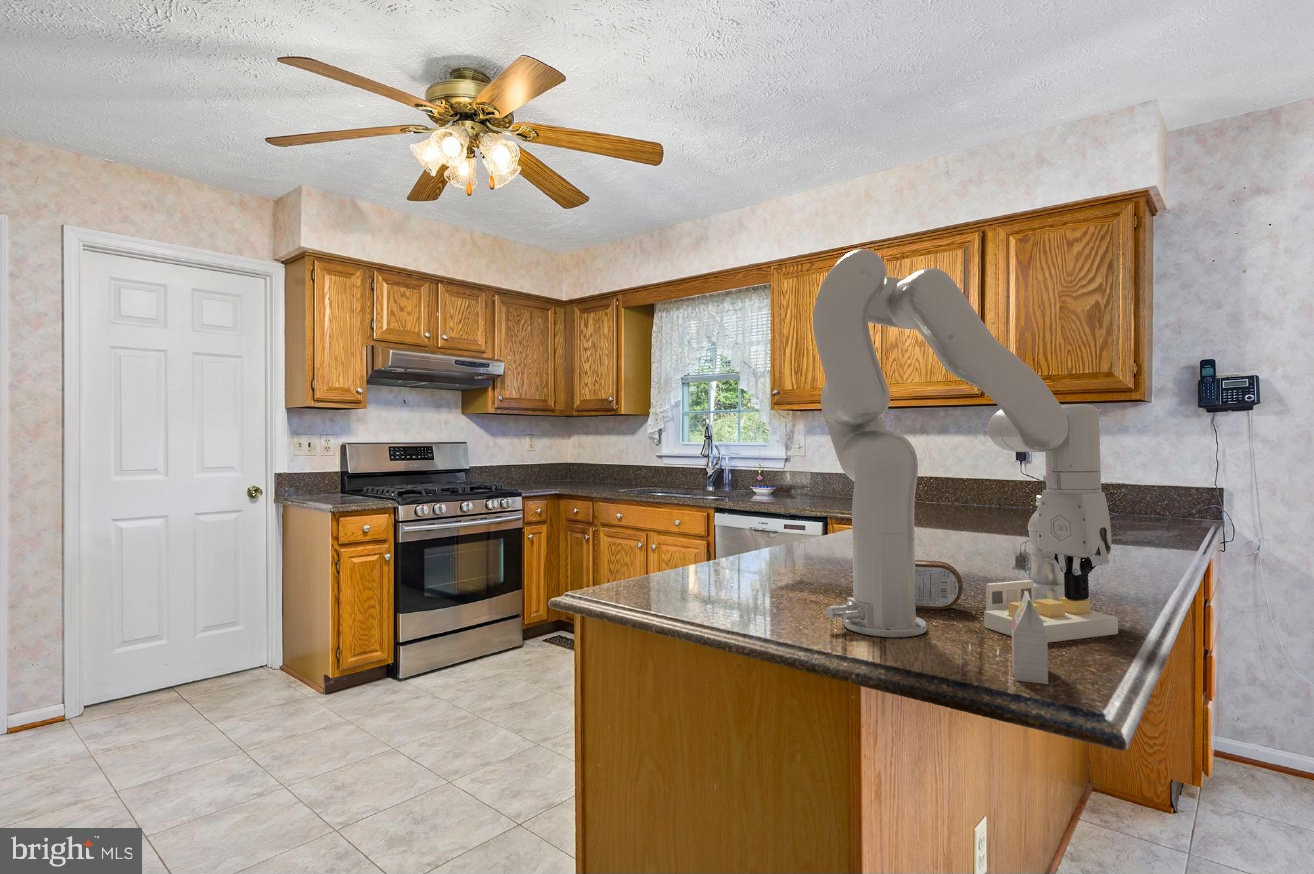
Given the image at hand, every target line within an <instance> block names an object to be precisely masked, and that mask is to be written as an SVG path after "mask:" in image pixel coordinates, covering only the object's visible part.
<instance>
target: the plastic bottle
mask: <svg viewBox="0 0 1314 874" xmlns="http://www.w3.org/2000/svg"><path fill="white" fill-rule="evenodd" d="M1041 495H1042V494H1036V496H1035V500H1036V501H1035V506H1036V507H1037V509H1036V510H1035V511H1034V513H1033V514H1032V515H1031V517H1030V518H1029V520H1028V523H1027V530H1028V536H1029V542H1030V550H1031V551H1030V553H1031V570H1030V571H1031V572H1030V580H1031V581H1033V604H1034V600H1042V599H1052V600H1056V601H1059V598H1062V597H1065V593H1064V573H1062V572H1061V571H1060V567H1059V564H1058V563H1057V562H1056V560H1055V559H1052V558H1050V557H1048V556H1046V555H1045V551H1044V550H1042V549H1041V548H1040V547H1039V545H1038V516H1039V506H1040V500H1041Z"/></svg>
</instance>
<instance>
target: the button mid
mask: <svg viewBox="0 0 1314 874" xmlns="http://www.w3.org/2000/svg"><path fill="white" fill-rule="evenodd" d="M1034 604H1036V605H1039V615H1041V616H1045V617H1048V618H1055V617H1064V616H1065V603H1064V602H1060V601H1056V600H1052V599H1042V600H1034Z"/></svg>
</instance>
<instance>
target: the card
mask: <svg viewBox="0 0 1314 874" xmlns="http://www.w3.org/2000/svg"><path fill="white" fill-rule="evenodd" d="M1024 591H1026V592H1027V591H1028V594H1029V597H1030V599H1031V602H1032V604H1033V581H1031V579H1026V580H1025V579H1024V580H1015V581H1004V582H1003V581H1002V582H1001V581H1000V582H989V583H985V611H993V610H1002V609H1008V603H1011V602H1021V601H1022V598H1023V595H1024Z"/></svg>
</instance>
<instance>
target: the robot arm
mask: <svg viewBox="0 0 1314 874" xmlns="http://www.w3.org/2000/svg"><path fill="white" fill-rule="evenodd" d="M887 275H888V274H887V268H886V264H885V262H884V260H883V258H882V257H881V256H880V255H879V254H878V253H877V252H875V251H873V250H871V249H867V248H865V249H864V248H862V249H861V248H860V249H856V250H853V251H850V252H848V253H846V254H845V255H844V256H842V257H841V258H840V259H838V261H837V262H836V263H835V264H834V266H833V267H832V268H831V269H830V270H829V272H828V273H827V275H826V276H825V277H824V279H823V282H822V283H821V285H820V287H819V290H818V293H817V296H816V300H815V302H814V308H813V314H812V327H813V329H812V330H813V339H814V341H815V346H816V349H817V353H818V356H819V359H820V364H821V366H822V370H823V373H824V376H825V380H826V381H825V383H824V385H823V386H822V388H821V389H822V390H821V393H820V406H821V411H822V415H823V419H824V422H825V424H826V427H827V432H828V434H829V436H830V439H831V442H832V446H833V449H834V451H835V454H836V458H837V460H838V462H839V465H840V466H841V467H840V468H841V469H842V471H843V472H844V474H845V476H847V477H848V478H849V479H850V480H851V481H852V482H854V483H853V490H852V491H853V492H852V503H851V504H852V506H851V529H852V587H853V588H852V589H853V591H852V593H853V594H852V595H853V596H852V597H847V598H846V600H847V601H846V602H845V603H843V604H842V605H829V606H827V607H826V609H825V611H826V612H825V613H826V616H827V618H828V619H829V620H830V619H831V620H832V619H833V620H834V619H840V618H842V620H843V626H845V628H846V629H848V630H850V631H852V632H855V633H859V634H862V635H866V636H867V635H868V636H873V637H880V638H881V637H882V638H908V637H915V636H919V635H922V634H924V633H925V632H927V622H926V621H925V620H924V619H922V618H921V617H918V616H917V608H916V585H915V560H916V535H915V534H916V533H915V532H916V530H915V503H916V501H915V500H916V489H917V481H918V475H919V474H918V473H919V462H918V456H917V452H916V450H915V448H914V446H913V444H912V443H911V442H910V441H909V439H908V438H907V437H906V436H904V435H903V434H901V433H899V432H897V431H896V430H895V431H894V430H890V429H887V428H886V424H885V423H884V419H883V416H884V415H885V413H886V411H888V408H889V406H890V401H891V395H890V389H889V387H888V383H887V380H886V378H885V375H884V373H883V370H882V368H881V367H882V366H881V364H880V361H879V358H878V355H877V353H876V349H875V348H874V347H875V346H874V344H873V339H872V335H871V332H870V326H869V323H870V324H876V325H880V326H885V327H890V328H896V329H902V330H903V329H904V330H916V329H917V331H918V332H919V334H921V337H922V338H923V339H924V341H925V343H927V345H928V346H929V347H930V349H931V350H932V352H933V353H934V354H935V356H936V358H937V359H938V360H939V363H941V365H942V366H943V367H944V370H946V371H947V372H948V373H950V374H951V375H952V376H954V377H956V378H958V379H960V380H962V381H965V382H966V383H969V384H970V385H972V386H974V387H976V388H978V389H979V390H981V391H982V392H983V393H984V394H986V395H987V396H988V397H989V398H990V399H991V400H992V401H993V402H994V403H995V404H996V405H997V406H998V407H999V408H1000V409H999V410H998V411H997V412H995V413H994V414H993V415H992V416H991V418H990V419H989V421H988V426H987V432H988V436H989V438H990V440H991V441H992V442H993V444H994V445H995V446H997V447H998V448H1000V449H1002V450H1005V451H1008V452H1014V453H1015V452H1016V453H1027V452H1028V453H1045V456H1044V457H1045V474H1044V475H1043V477H1042V478H1043V479H1042V480H1043V481H1044V482H1045V486H1046V489H1043V490H1042V491H1041V492H1042V493H1041V494H1040V495H1041V500H1040V506H1039V516H1038V545H1039V547H1040V548H1041V549H1042V550H1044V551H1045V555H1046V556H1048V557H1050V558H1052V559H1055V560H1056V562H1057V563H1058V564H1059V567H1060V571H1061V572H1062V573H1064V593H1065V598H1067V599H1072V600H1082V599H1087V600H1089V597H1090V596H1089V595H1090V593H1089V592H1090V591H1089V588H1090V587H1089V585H1090V584H1089V575H1090V574H1092V573H1093V571H1094V569H1095V568H1096V567H1102V566H1107V565H1109V563H1110V562H1109V561H1110V560H1109V556H1108V555H1110V553H1111V551H1112V527H1111V519H1110V512H1109V507H1108V502H1107V497H1106V495H1105V494H1106V493H1105V492H1103V491H1102V474H1101V473H1102V471H1101V470H1102V469H1101V466H1102V465H1101V441H1100V440H1101V439H1100V438H1101V433H1100V432H1101V431H1100V430H1101V429H1100V415H1099V414H1100V413H1099V411H1098V408H1097V407H1096V406H1095V405H1092V404H1086V403H1083V404H1082V403H1081V404H1078V403H1076V404H1062V405H1061V403H1060V402H1059V400H1058V399H1057V398H1056V396H1055V395H1054V393H1053V392H1052V391H1051V388H1049V387H1048V385H1047V384H1046V382H1045V381H1044V380H1043V378H1042V377H1041V376H1040V375H1039V374H1038V373H1037V372H1036V371H1035V370H1034V369H1033V368H1032V367H1031V366H1029V365H1028V364H1027V363H1026V362H1025V361H1023V360H1022V359H1021V358H1020V357H1019V356H1017V355H1016V354H1015V353H1013V352H1012V351H1011V350H1010V349H1009V348H1007V347H1006V346H1005V345H1003V344H1002V343H1000V342H999V341H998V340H997V339H996V338H995V336H994V335H993V334H992V332H991V331H990V330H989V328H988V327H987V325H986V324H985V323H984V322H983V320H982V318H980V316H979V314H978V312H977V311H976V310H975V309H974V307H973V306H972V304H970V301H968V299H967V298H966V296H965V295H964V293H963V291H962V290H961V289H960V288H959V286H958V285H957V284H956V282H955V281H954V280H953V278H952V277H951V276H950V275H949V274H948V273H947V272H946V271H944V270H942V269H939V268H934V267H932V268H931V267H930V268H925V269H921V270H918V271H915V272H914V273H913V274H910V275H909V276H907V277H906V278H898V277H891V276H887Z"/></svg>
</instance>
